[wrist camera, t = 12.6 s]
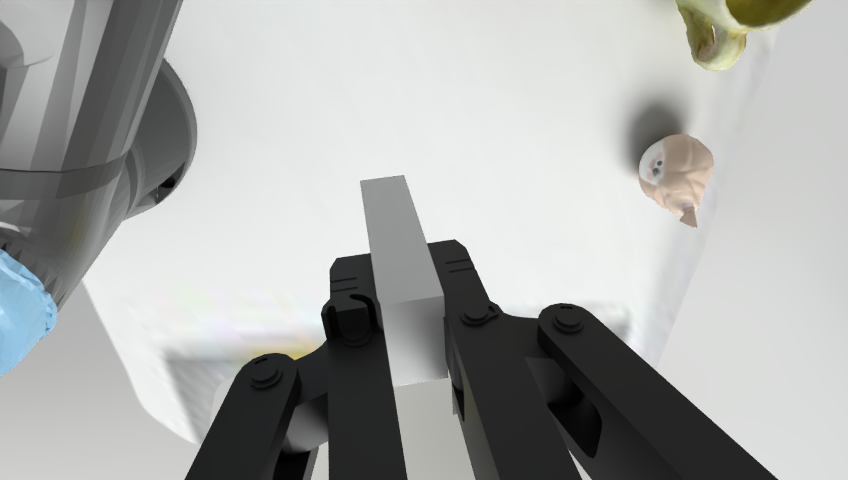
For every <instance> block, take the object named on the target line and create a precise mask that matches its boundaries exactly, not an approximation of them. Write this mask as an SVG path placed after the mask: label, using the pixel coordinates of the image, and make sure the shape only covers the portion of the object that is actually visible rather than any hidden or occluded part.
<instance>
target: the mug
mask: <svg viewBox="0 0 848 480" xmlns="http://www.w3.org/2000/svg"><path fill="white" fill-rule="evenodd" d="M675 1H676V3H677V5H678V10H679V12H680V13H681V15H682V17H683V19H684V22H685V24H686V26H687V32H686V33H687V38H688V43H689V45H690V47H691V54H692V57H693V60H694V61H695V63H697V64H698V65H700V66H702V67H703V68H704V69H706V70H710V71H715V72H722V71H725V70H726V69H728V68H730V67H731V66H732V65H733V64H734V63H735V62H736V61H737V60H738V58H739V57H740V56H741V54H742V53H743V51H744V49H745V46H746V35H747V33H748V32H751V31H759V30H768V29H771V28H774V27H776V26H779V25H781V24H783V23H785V22H787V21H789V20H791V19H793V18H794V17H796V16H798V15H799V14H800V13H801V12H803V11H804V10H805V9H807V8H808V7H809V6H810V5H811V4H812V3H813V2H814V1H815V0H675ZM712 24H713V27H714V29H715V40H714V33H713V29H712Z"/></svg>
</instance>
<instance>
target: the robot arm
mask: <svg viewBox="0 0 848 480" xmlns="http://www.w3.org/2000/svg"><path fill="white" fill-rule="evenodd" d="M182 2H183V0H0V376H2V375H4V374H5V373H7V372H8V371H10V370H11V369H12V368H13V367H15V366H16V365H17V364H18V363H19V362H20V361H21V360H22V359H23V358H24V357H25V355H26V354H27V353H28V352H29V351H30V350H31V348H32V347H33V346H34V344H36V342H37V341H38V340H40V339H43V338H44V337H46V336H47V334H48V333H49V332H50V331H51V330H52V329H53V328H54V326H55V324H56V321H57V314H58V312H59V311H60V309H61V308H62V306H63V305H64V304H65V302H66V301H67V299H68V298H69V297H70V295H71V294H72V292H73V291H74V289H75V288H76V287H77V285H78V284H79V282H80V281H81V279H82V278H83V277H84V275H85V274H86V272H87V271H88V269H89V268H90V267H91V265H92V264H93V262H94V261H95V259H96V258H97V257H98V255H99V254H100V252H101V251H102V249H103V248H104V246H105V245H106V244H107V242H108V241H109V239H110V238H111V236H112V235H113V234H114V232H115V231H116V229H117V228H118V226H119V225H120V223H121V222H122V221H124V220H126V219H128V218H130V217H133V216H135V215H137V214H140V213H142V212H144V211H146V210H148V209H151V208H152V207H154V206H156V205H157V204H159V203H160V202H162V201H163V200H164V199H165V198H167V197H168V196H169V195H170V194H171V193H172V192H173V191H174V190H175V189H176V188H177V186H178V185H179V184H180V182H181V181H182V179H183V177H184V176H185V174H186V172H187V170H188V169H189V167H190V165H191V162H192V160H193V157H194V154H195V150H196V144H197V124H196V118H195V113H194V109H193V106H192V103H191V100H190V98H189V96H188V93H187V91H186V89H185V87H184V86H183V84H182V82H181V81H180V79H179V77H178V76H177V74H176V73H175V72H174V70H173V69H172V68H171V66H170V65H169V64H168V63H167V62H166V60H165V59H164V58H163V56H164V53H165V51H166V48H167V45H168V42H169V39H170V36H171V34H172V31H173V28H174V25H175V22H176V19H177V17H178V14H179V11H180V8H181V5H182ZM360 184H361V191H362V198H363V205H364V211H365V218H366V225H367V232H368V239H369V245H370V252H371V253H368V254H361V255H355V256H348V257H341V258H336V260H335V262H334V263H333V265H332V267H331V268H330V299H329V300H328V302H327V303H326V304H325V305H324V306H323V308H322V312H321V317H322V322H323V326H324V330H325V334H326V338H327V340H326V341H325V342H324V343H323V345H322V346H321V347H319V348H318V349H317V350H315V351H314V352H312V353H310V354H308V355H306V356H304V357H301V358H299V359H297V360H294V359H292V358H291V357H289V356H288V355H286V354H280V353H271V354H264V355H262V356H259V357H257V358H254V359H252V360H251V361H250V362H248V363H247V364H246V365H244V366H243V367H242V368H241V370H240V371H239V373H238V374H237V375H236V377H235V379H234V382H233V383H232V385H231V387H230V389H229V391H228V394H227V395H226V397H225V399H224V401H223V403H222V405H221V407H220V410H219V411H218V413H217V415H216V417H215V419H214V421H213V423H212V425H211V427H210V429H209V431H208V433H207V435H206V437H205V440H204V442H203V444H202V446H201V448H200V450H199V452H198V454H197V456H196V458H195V460H194V462H193V464H192V466H191V468H190V470H189V472H188V474H187V476H186V478H185V480H311V476H312V472H313V468H314V465H315V461H316V457H317V454H318V449H319V445H321V444H323V443H325V442H327V441H328V444H329V480H408V479H407V473H406V467H405V460H404V454H403V448H402V442H401V435H400V429H399V422H398V416H397V409H396V403H395V397H394V390H393V387H398V386H404V385H409V384H415V383H420V382H426V381H431V380H437V379H442V378H447V377H448V369H449V373H450V376H451V380H452V401H453V414H458V417H459V421H460V425H461V428H462V432H463V435H464V439H465V443H466V446H467V450H468V454H469V457H470V461H471V465H472V468H473V471H474V475H475V479H476V480H582V478H581V476H580V474H579V472H578V470H577V467H576V465H575V463H574V461H573V459H572V457H571V455H570V453H569V451H570V452H571V453H572V454H573V456H574V457H575V458H576V460H577V461H578V462H579V463H580V465H581V466H582V467H583V469H584V470H585V471H586V472H587V474H588V475H589V476H590V478H591V479H592V480H778V479H777V478H775V476H773V475H772V474H771V473H770V472H769V471H768V470H767V469H766V468H764V467H763V466H762V465H761V464H760V463H759V462H758V461H757V460H755V459H754V458H753V457H752V456H751V455H750V454H749V453H748V452H746V451H745V450H744V449H743V448H742V447H741V446H740V445H738V444H737V443H736V442H735V441H734V440H733V439H732V438H731V437H730V436H729V435H727V434H726V433H725V432H724V431H723V430H722V429H721V428H719V427H718V426H717V425H716V424H715V423H714V422H713V421H712V420H711V419H709V418H708V417H707V416H706V415H705V414H704V413H703V412H702V411H700V410H699V409H698V408H697V407H696V406H695V405H694V404H693V403H691V402H690V401H689V400H688V399H687V398H686V397H685V396H684V395H682V394H681V393H680V392H679V391H678V390H677V389H676V388H675V387H673V386H672V385H671V384H670V383H669V382H668V381H667V380H666V379H665V378H663V377H662V376H661V375H660V374H659V373H658V372H657V371H656V370H654V369H653V368H652V367H651V366H650V365H649V364H648V363H647V362H645V361H644V360H643V359H642V358H641V357H640V356H639V355H638V354H636V353H635V352H634V351H633V350H632V349H631V348H630V347H629V346H627V345H626V344H625V343H624V342H623V341H622V340H621V339H620V338H618V337H617V336H616V335H615V334H614V333H613V332H612V331H611V330H609V329H608V328H607V327H606V326H605V325H604V324H603V323H602V322H600V321H599V320H598V319H597V318H596V317H595V316H594V315H593V314H592V313H590V312H589V311H587V310H585V309H584V308H582V307H580V306H576V305H573V304H565V303H559V304H554V305H550V306H548V307H546V308H545V309H543V310H542V312H541V313H540V315H539V318H525V317H516V316H512V315H508V314H505V313H503V311H502V310H501V308H500V307H499V306H498V305H497V304H495V303H493V302H491V301H490V300H489V297H488V295H487V293H486V291H485V289H484V286H483V284H482V282H481V280H480V278H479V275H478V273H477V271H476V269H475V267H474V264H473V262H472V261H471V258H470V256H469V253H468V251H467V249H466V247H464V246H463V245H462V244H460V243H459V242H458V241H456V240H455V239H454V240H447V241H441V242H434V243H426V240H425V237H424V234H423V231H422V228H421V225H420V222H419V219H418V216H417V213H416V210H415V207H414V204H413V201H412V198H411V195H410V192H409V189H408V186H407V183H406V180H405V177H404V175H401V176H393V177H386V178H378V179H371V180H363V181H360ZM568 449H569V451H568Z"/></svg>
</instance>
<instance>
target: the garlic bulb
mask: <svg viewBox="0 0 848 480" xmlns="http://www.w3.org/2000/svg"><path fill="white" fill-rule="evenodd" d="M713 167H714V161H713V156H712V153H711V152H710V150H709V149H708V148H707V147H705V146H704V145H703V144H702V143H701V142H700V141H699V140H698V139H695V138H693V137H691V136H689V135H687V134H677V135H670V136H667V137H665V138H663V139H662V140H660V141H658V142H656V143H654V144H653V145H652V146H650V147H649V148H648V149H647V150H646V152H645V153H644V155H643V156H642V158H641V161H640V165H639V183H640V186H641V188H642V190H643V192H644V193H645V195H646V196H648V197H650V198H652V199H653V200H655V201H656V203H657V204H658V205H660V206H661V207H663V208H665V209H668V210H669V211H670V212H672V213H674V214H677V215H681V216H682V217H681V219H680V221H681V222H683V223H685V224H687V225H689V226H691V227H697V221H696V217H695V211H696V210H697V209H698V207H699V204H700V201H701V199H702V197H703V195H704V192H705V187H706V185H707V183H708V181H709V179H710V177H711V174H712V171H713Z"/></svg>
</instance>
